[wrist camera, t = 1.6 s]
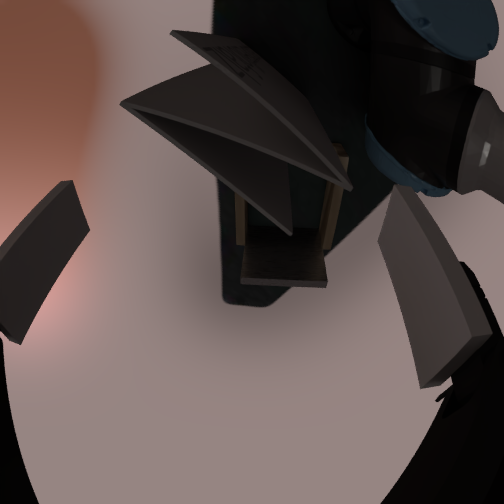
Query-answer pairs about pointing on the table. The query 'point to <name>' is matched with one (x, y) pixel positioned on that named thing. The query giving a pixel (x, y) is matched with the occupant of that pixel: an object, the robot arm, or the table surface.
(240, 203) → the slot rails
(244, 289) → the table surface
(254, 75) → the brochure
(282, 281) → the bookend
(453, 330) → the robot arm
